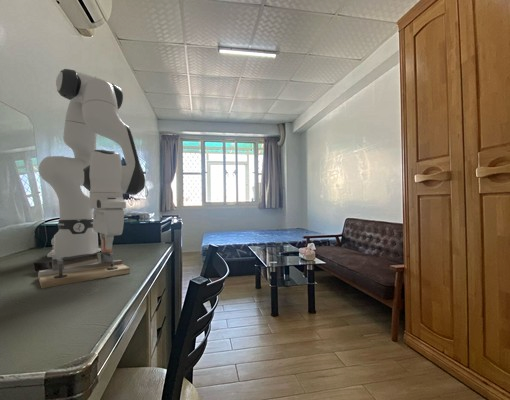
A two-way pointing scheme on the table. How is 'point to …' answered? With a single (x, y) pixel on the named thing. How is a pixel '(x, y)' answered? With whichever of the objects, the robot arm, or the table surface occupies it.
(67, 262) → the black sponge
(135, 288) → the table surface
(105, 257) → the block
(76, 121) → the robot arm
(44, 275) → the hole plate
